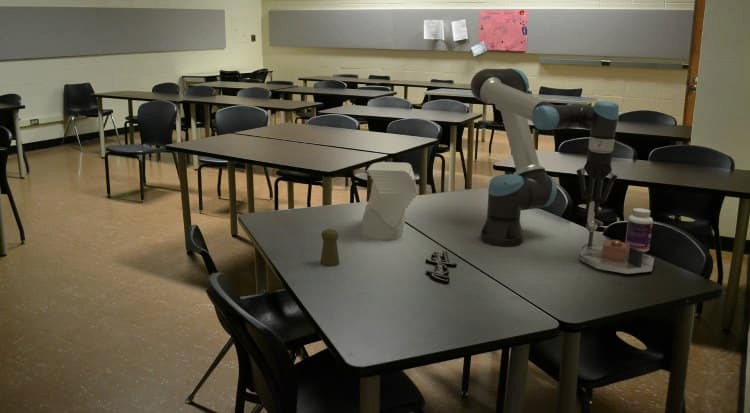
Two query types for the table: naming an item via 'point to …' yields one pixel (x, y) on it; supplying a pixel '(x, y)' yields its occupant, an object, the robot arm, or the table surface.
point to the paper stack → (388, 200)
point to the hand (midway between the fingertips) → (590, 221)
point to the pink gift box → (615, 249)
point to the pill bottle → (639, 229)
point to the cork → (329, 248)
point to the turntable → (631, 264)
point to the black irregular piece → (440, 267)
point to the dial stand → (592, 231)
